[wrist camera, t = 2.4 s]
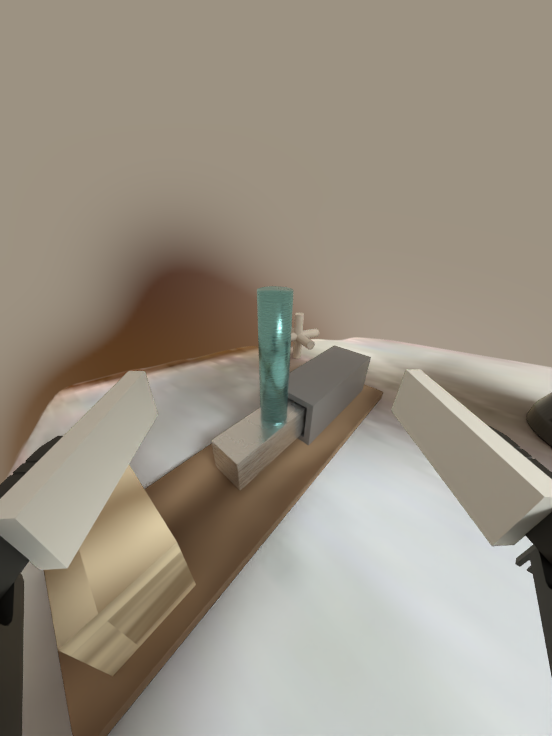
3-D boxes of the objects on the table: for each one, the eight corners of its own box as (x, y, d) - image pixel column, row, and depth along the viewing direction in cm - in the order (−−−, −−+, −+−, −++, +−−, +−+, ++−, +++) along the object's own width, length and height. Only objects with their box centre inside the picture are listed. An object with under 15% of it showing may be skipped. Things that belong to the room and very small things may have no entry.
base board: (381, 397, 39) (383, 391, 38) (86, 759, 12) (76, 760, 11) (321, 372, 46) (322, 367, 45) (49, 565, 19) (41, 559, 18)
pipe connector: (267, 352, 54) (267, 310, 48) (303, 344, 57) (306, 305, 52) (288, 371, 46) (290, 324, 41) (327, 361, 50) (334, 317, 45)
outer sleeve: (362, 390, 39) (370, 357, 35) (308, 445, 28) (313, 405, 25) (329, 376, 42) (334, 345, 39) (271, 420, 32) (271, 383, 29)
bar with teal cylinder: (351, 386, 37) (377, 272, 28) (240, 490, 22) (219, 312, 13) (330, 377, 40) (347, 269, 31) (215, 466, 24) (184, 300, 15)
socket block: (195, 584, 17) (177, 541, 13) (112, 676, 13) (58, 650, 10) (146, 502, 22) (123, 456, 19) (77, 552, 19) (32, 506, 15)
